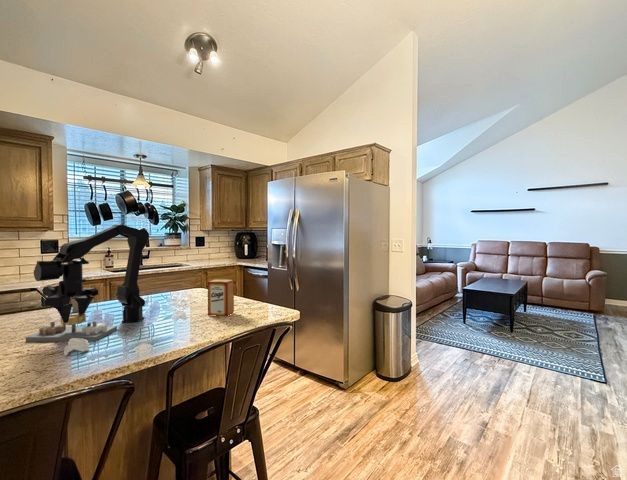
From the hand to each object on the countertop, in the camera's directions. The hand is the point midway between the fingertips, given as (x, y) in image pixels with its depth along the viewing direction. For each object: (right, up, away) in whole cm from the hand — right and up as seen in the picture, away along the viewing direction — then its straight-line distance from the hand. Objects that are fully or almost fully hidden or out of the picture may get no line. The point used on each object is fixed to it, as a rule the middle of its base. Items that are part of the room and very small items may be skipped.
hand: (73, 319), depth 113 cm
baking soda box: (+45, -5, +29) cm, 54 cm away
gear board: (0, -6, 0) cm, 6 cm away
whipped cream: (+12, -7, -15) cm, 20 cm away
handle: (-26, -5, +35) cm, 43 cm away
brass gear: (0, -1, 0) cm, 1 cm away
